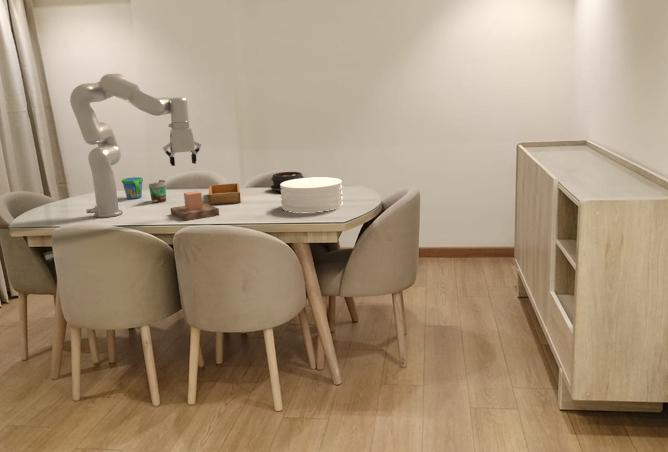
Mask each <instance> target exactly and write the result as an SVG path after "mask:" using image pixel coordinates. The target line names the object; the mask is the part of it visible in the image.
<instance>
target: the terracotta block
mask: <svg viewBox="0 0 668 452" xmlns="http://www.w3.org/2000/svg"><path fill="white" fill-rule="evenodd" d="M183 196H184V197H183V199H184V206H185V208H186V209H188V210H195V209H201V208H203V205H202V203H203V196H202V192H200V191H198V190H197V191H196V190H195V191H190V192H183Z"/></svg>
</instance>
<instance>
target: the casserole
mask: <svg viewBox="0 0 668 452" xmlns="http://www.w3.org/2000/svg"><path fill="white" fill-rule="evenodd" d="M300 178H305V176H303V174H302V172H298V171H283V172H276V173H274V174H273V175H272V177H271V181H272V185H271V186H270V189H272V190H273V191H276V192H277V191H278V192H281V189H282V188H281V187H280V184H281V183H282V182H285V181H288V180H293V179H300Z"/></svg>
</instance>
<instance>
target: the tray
mask: <svg viewBox="0 0 668 452" xmlns="http://www.w3.org/2000/svg"><path fill="white" fill-rule="evenodd" d="M208 203H209V204H208V205H211V206H213V205H224V204H225V205H226V204H238V203H241V190H240V183H239V182H236V183H221V184H211V185H209V188H208Z"/></svg>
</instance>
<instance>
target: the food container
mask: <svg viewBox="0 0 668 452" xmlns="http://www.w3.org/2000/svg"><path fill="white" fill-rule="evenodd" d="M167 186H168V183H167V181H166V180H163V179H158V181H157V182H153V183H149V184H148V189H149V193H150V199H151V204H160V203H164V202H167Z"/></svg>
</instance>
